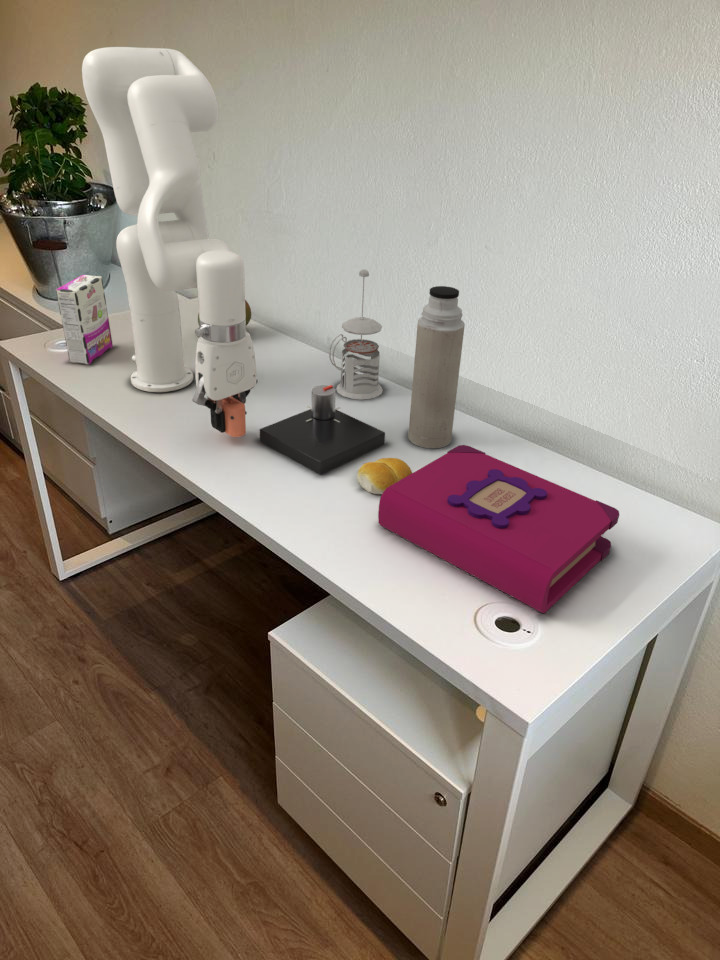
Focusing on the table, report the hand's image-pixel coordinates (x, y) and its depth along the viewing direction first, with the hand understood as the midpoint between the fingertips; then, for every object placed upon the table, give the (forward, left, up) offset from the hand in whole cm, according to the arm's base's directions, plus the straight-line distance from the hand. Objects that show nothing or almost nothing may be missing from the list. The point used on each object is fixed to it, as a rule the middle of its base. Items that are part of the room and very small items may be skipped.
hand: (227, 425), depth 132 cm
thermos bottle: (+25, +27, -3) cm, 37 cm away
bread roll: (+30, +9, -3) cm, 31 cm away
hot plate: (+13, +11, -3) cm, 17 cm away
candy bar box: (-51, +1, -3) cm, 51 cm away
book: (+52, +9, -3) cm, 53 cm away
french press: (+1, +32, -3) cm, 33 cm away
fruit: (-42, +31, -3) cm, 53 cm away
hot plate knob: (+8, +16, 0) cm, 18 cm away
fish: (0, 0, 0) cm, 0 cm away
